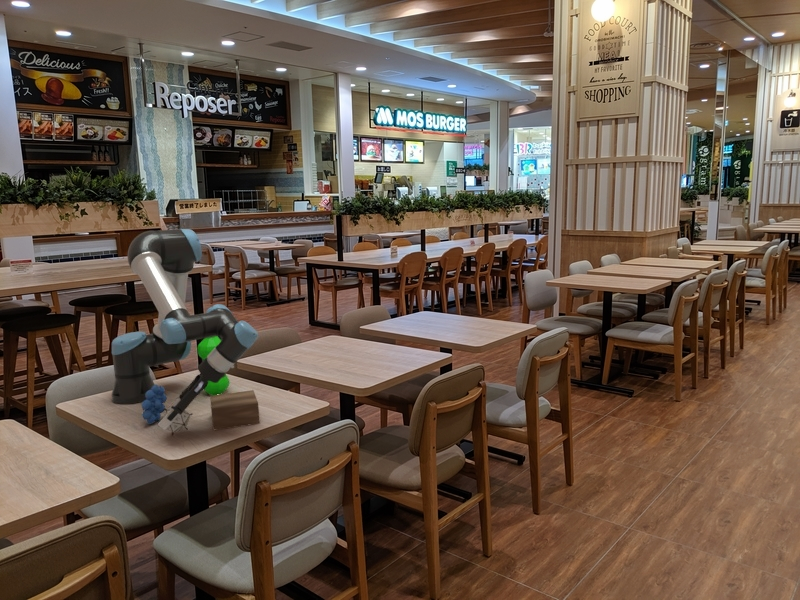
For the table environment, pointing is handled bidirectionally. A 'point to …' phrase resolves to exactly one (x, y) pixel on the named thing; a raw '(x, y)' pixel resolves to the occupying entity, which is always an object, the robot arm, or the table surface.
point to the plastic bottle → (203, 352)
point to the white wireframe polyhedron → (179, 421)
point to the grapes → (154, 404)
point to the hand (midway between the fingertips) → (164, 421)
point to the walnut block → (234, 409)
